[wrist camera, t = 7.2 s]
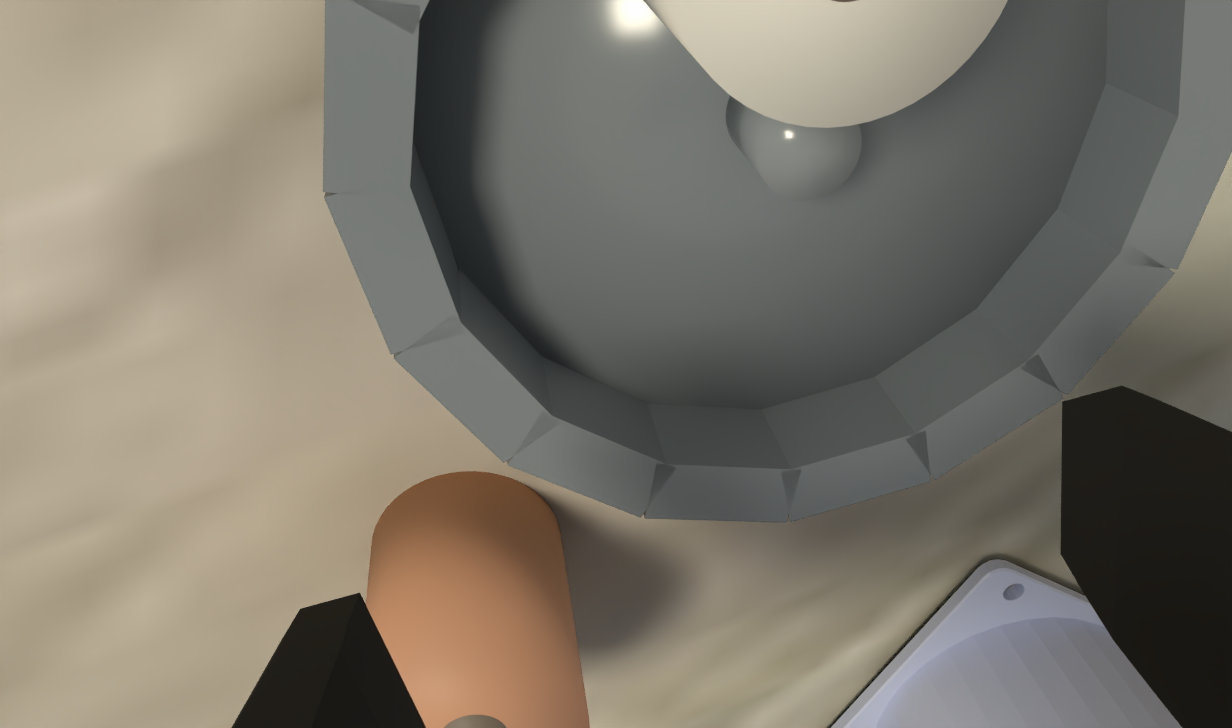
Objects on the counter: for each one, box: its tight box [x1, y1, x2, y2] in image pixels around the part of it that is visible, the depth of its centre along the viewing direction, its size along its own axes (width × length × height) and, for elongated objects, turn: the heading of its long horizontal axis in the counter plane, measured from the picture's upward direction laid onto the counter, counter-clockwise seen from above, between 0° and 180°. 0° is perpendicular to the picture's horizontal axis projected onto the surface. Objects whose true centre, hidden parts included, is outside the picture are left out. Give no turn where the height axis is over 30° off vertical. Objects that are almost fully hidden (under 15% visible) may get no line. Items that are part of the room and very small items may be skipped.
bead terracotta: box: [366, 471, 590, 728], centre depth 19 cm, size 4×4×5 cm
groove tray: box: [323, 0, 1232, 522], centre depth 16 cm, size 14×14×3 cm
